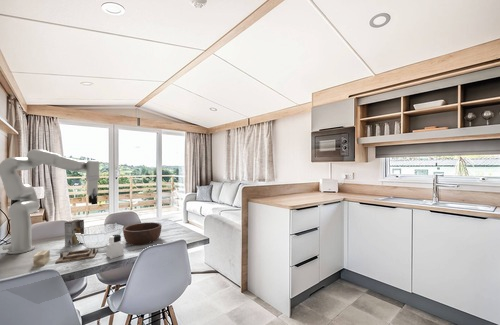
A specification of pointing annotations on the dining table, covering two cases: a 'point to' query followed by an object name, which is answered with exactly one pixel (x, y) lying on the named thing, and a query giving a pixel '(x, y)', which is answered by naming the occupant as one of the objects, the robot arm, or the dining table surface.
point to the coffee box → (73, 232)
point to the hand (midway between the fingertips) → (92, 203)
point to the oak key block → (41, 258)
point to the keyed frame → (77, 255)
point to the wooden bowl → (142, 233)
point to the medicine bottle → (114, 247)
